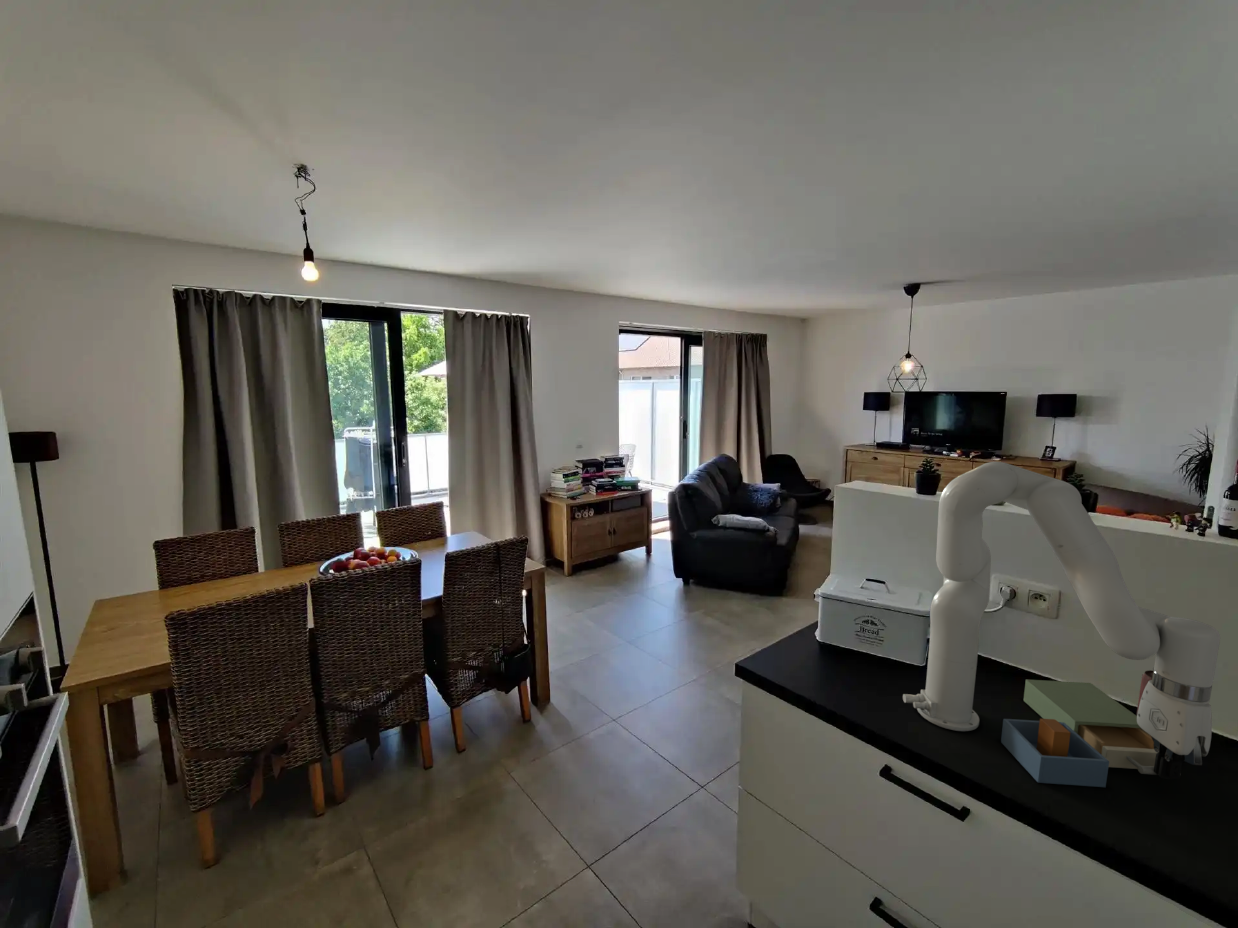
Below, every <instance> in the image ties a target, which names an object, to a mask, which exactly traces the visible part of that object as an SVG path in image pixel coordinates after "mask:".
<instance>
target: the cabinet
mask: <svg viewBox="0 0 1238 928" xmlns="http://www.w3.org/2000/svg"><path fill="white" fill-rule="evenodd" d="M1023 702H1024V703H1025V704H1027V705H1028V706H1029V708H1031V709H1032V710H1033V711H1034V712H1035V713H1037V714H1038V715H1039V716H1040V718H1041V719H1055V720H1057V721H1058V722H1064V723H1065V724H1067V725H1068V726H1069V727H1070V728H1071V729H1072V730H1073V731H1075V732H1076V733H1077V734H1078V726H1079V725H1096V726H1113V727H1130V728H1141V727H1140V726H1139V725H1138V724H1137V716H1136V714H1134V713H1133V712H1132V711H1130V710H1129V709H1127V708H1126V707H1125V706H1124V705H1122V704H1121V703H1119V702H1118V701H1117V700H1115V699H1114V698H1113V697H1111V696H1109V695H1108V694H1107V693H1105V692H1104V691H1102V689H1100V688H1099V687H1097V686H1096V685H1094V684H1093V683H1091V682H1082V681H1081V682H1079V681H1065V680H1063V681H1061V680H1044V679H1043V680H1042V679H1025V684H1024V692H1023ZM1141 729H1142V728H1141ZM1142 730H1143V729H1142ZM1143 731H1144V730H1143ZM1146 733H1147V732H1146ZM1147 734H1148V733H1147Z"/></svg>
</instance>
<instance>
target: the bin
mask: <svg viewBox="0 0 1238 928" xmlns="http://www.w3.org/2000/svg"><path fill="white" fill-rule="evenodd" d="M1039 723H1040V720H1029V719H1012V718H1003V720H1002V728H1001V735H1000V736H1001V738H1000V743H1001V744H1002V745H1003V747H1005V749H1007V751H1008V752H1009V753H1010V754H1011V755H1012V756H1013V757H1014V758H1015V759H1016V760H1017V762H1018V763H1019V764H1020V765H1021V766H1022V767H1023V768H1024V769H1025V770H1026V771H1027V773H1029V774H1030V776H1031V777H1032V778H1033V779H1034V780H1035V781H1036V782H1037V783H1040V784H1053V785H1065V786H1066V785H1068V786H1079V787H1080V786H1081V787H1096V788H1106V787H1107V780H1108V774H1109V768H1110V767H1109V761H1108V760H1107V759H1106V758H1105V757H1103V756H1102V755H1101V754H1100V753H1099V752H1098V751H1097V750H1095V749H1094V748H1093V747H1092V746H1091V745H1090V744H1088V743H1087V742H1086V741H1085V740H1084V739H1083V738H1082V737H1080V736H1079V735H1078V734H1077V733H1076V732H1075V731H1073V730H1072V729H1071V728H1070V727H1069V726H1068V725H1067V724H1065V723H1064V722H1059V723H1060V724H1061V725H1062V726H1063V727H1065V728H1066V729H1067V730H1068V731H1069V732H1070V741H1069V748H1068V756H1067V757H1060V756H1045V755H1042V754H1041V753H1040V752H1039V751H1038V750H1037V749H1036V748H1037V740H1038V731H1039Z"/></svg>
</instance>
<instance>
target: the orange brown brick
mask: <svg viewBox="0 0 1238 928" xmlns="http://www.w3.org/2000/svg"><path fill="white" fill-rule="evenodd" d="M1039 721H1040V723H1039V731H1038V740H1037V748H1036V749H1037V750H1038V751H1039V752H1040V753H1041V754H1042V755H1045V756H1060V757H1067V756H1068V748H1069V741H1070V732H1069V731H1068V730H1067V729H1066V728H1065V727H1063V726H1062V725H1061V724H1060V723H1059V722H1058V721H1057V720H1055V719H1043V718H1039Z"/></svg>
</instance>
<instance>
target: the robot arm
mask: <svg viewBox="0 0 1238 928" xmlns="http://www.w3.org/2000/svg"><path fill="white" fill-rule="evenodd" d="M1002 502H1003V503H1007V504H1009V505H1012V506H1015V507H1017V508H1020V509H1023V510H1026V511H1028V513H1029V516H1030V517H1031V519H1032V521H1033V522H1034V524H1035V525H1036V527H1037V529H1038V530H1039V532H1040V533H1041V535H1042V537H1043V538H1044V540H1045V542H1046V543H1047V545H1048V546H1049V548H1050V550H1051V551H1052V552H1053V554H1054V556H1055V557H1056V559H1057V560H1058V562H1059V564H1060V566H1061V568H1062V570H1063V572H1064V573H1065V576H1066V578H1067V580H1068V582H1069V583H1070V586H1071V587H1072V588H1073V590H1074V592H1075V594H1076V596H1077V598H1078V600H1079V602H1080V604H1081V605H1082V607H1083V609H1084V611H1085V613H1086V614H1087V616H1088V618H1089V619H1090V621H1091V623H1092V624H1093V626H1094V627H1095V630H1096V631H1097V632H1098V634H1099V636H1100V637H1101V639H1102V641H1103V642H1104V643H1105V645H1107V647H1108V648H1109V649H1110V650H1111V651H1113V652H1114V653H1115V654H1117V655H1118V656H1121V657H1122V658H1125V659H1129V660H1134V661H1142V660H1147V659H1150V658H1152V657H1153V656H1154V655H1155V660H1154V665H1153V668H1152V671H1153V677H1152V680H1149V682H1148V683H1147V685H1146V687H1145V689H1144V692H1143V694H1142V697H1141V701H1140V704H1139V709H1138V714H1137V724H1138V725H1139V726H1140V727H1141V728H1142V729H1143V730H1144V731H1145V732H1147V733H1148V734H1149V735H1150V736H1151V737H1152V740H1153V742H1154V750H1155V752H1157V753H1156V758H1155V765H1154V772H1155V773H1156V774H1158V775H1157V776H1158V777H1160V778H1161V779H1164V780H1165V779H1166V780H1179V779H1180V778H1181V775H1180V773H1181V772H1182V766H1183V763H1187V764H1189V765H1191V766H1196V767H1197V766H1198V767H1199V766H1201V767H1202V766H1203V760H1202V759H1203V758H1202V757H1204V758H1205V757H1207V756H1208V754H1209V751H1210V748H1211V741H1212V733H1213V716H1212V713H1213V712H1212V705H1211V704H1210V702H1211V695H1212V689H1213V684H1214V679H1215V671H1216V667H1217V660H1218V655H1219V650H1220V643H1221V634H1220V633H1219V631H1218V630H1217V629H1216V628H1215V627H1213V626H1212V625H1210V624H1208V623H1205V622H1203V621H1199V620H1195V619H1191V618H1186V617H1178V616H1171V615H1167V614H1164V613H1161V612H1157V611H1154V610H1151V609H1148V608H1145V607H1141V606H1139V605H1138V604H1137V603H1136V601H1135V599H1134V598H1133V596H1132V594H1131V592H1130V590H1129V588H1128V587H1127V584H1126V582H1125V580H1124V578H1123V575H1122V571H1121V569H1120V565H1119V562H1118V560H1117V557H1116V555H1115V553H1114V551H1113V548H1112V547H1111V546H1110V545H1109V543H1108V542H1107V541H1106V539H1105V537H1104V536H1103V535H1102V533H1101V531H1100V530H1099V529H1098V527H1097V525H1096V524H1095V523H1094V521H1093V519H1092V518H1091V516H1090V514H1089V512H1088V511H1087V509H1086V508H1085V506H1084V505H1083V504H1082V503H1083V501H1082V495H1081V493H1080V491H1079V490H1078V488H1076V486H1074V485H1073V484H1071V483H1069V482H1066V481H1064V480H1062V479H1058V478H1055V477H1052V476H1048V475H1045V474H1042V473H1038V472H1035V471H1032V470H1029V469H1026V468H1023V467H1019V466H1017V465H1014V464H1010V463H1007V462H1002V461H989V462H985V463H983V464H981V465H979V466H977V467H976V468H975V467H974V468H973V469H970V470H968V471H966V472H964V473H962V474H960V475H958V476H956V477H955V478H953V479H952V480H951V481H949V482H948V484H947V485H946V486H945V487H944V488H943V490H942V493H941V494H940V498H939V502H938V510H937V511H938V515H937V529H936V551H935V563H936V567H937V569H938V571H939V572H940V574H941V575H942V576H943V582H942V583H943V584H942V586H941V587H940V588H939V589H938V591H936V593H935V594H934V596H933V598H932V600H931V603H930V609H929V619H930V620H929V621H930V623H929V624H930V627H929V642H928V644H929V645H928V655H927V658H928V659H927V667H926V668H927V669H926V680H925V689H920V693H917V694H908V693H903V694H902V700H903V703H904V704H912V707H913V708H914V709H916V710H917V713H919V714H920V716H921V717H922V718H924V719H925V720H927V721H928V722H929V723H931V724H933V725H935V726H938V727H940V728H943V729H946V730H951V731H956V732H970V731H971V732H972V731H975V730H976V729H977V728H978V727H979V726H980V716H979V715H978V713H977V712H976V711H975V710H974V709H973V708H974V707H973V706H974V695H975V686H976V677H977V676H976V675H977V668H978V667H977V666H978V655H979V646H980V626H981V621H982V617H983V615H984V614H985V611H986V610H987V607H988V606H989V603H990V602H989V601H990V593H991V590H990V588H991V564H992V563H991V559H992V557H991V556H992V555H991V550H990V547H989V545H988V543H987V542H986V541H985V540H984V538H983V526H984V525H983V523H984V522H983V521H984V520H983V514H984V511H985V510H986V509H987V508H988V507H990V506H993V505H996V504H997V505H998V504H1000V503H1002Z"/></svg>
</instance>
